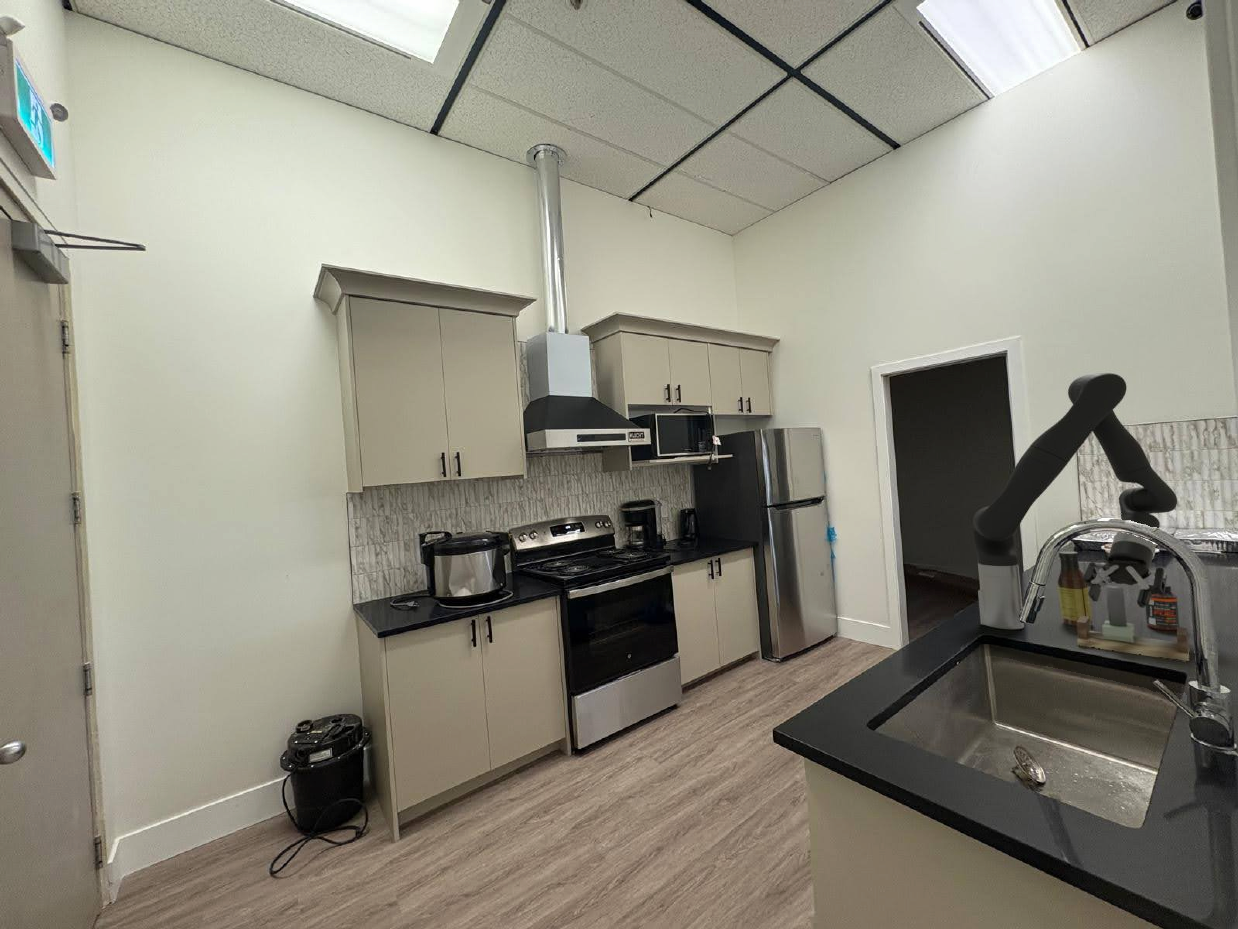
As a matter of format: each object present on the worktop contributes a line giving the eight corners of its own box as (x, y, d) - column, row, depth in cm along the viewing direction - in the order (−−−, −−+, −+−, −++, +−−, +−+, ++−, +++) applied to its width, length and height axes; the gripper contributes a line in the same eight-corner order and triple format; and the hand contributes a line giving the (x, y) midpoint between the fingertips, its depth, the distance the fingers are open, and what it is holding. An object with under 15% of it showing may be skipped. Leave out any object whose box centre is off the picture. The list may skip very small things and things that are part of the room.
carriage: (1103, 639, 122) (1098, 588, 122) (1106, 634, 125) (1101, 584, 126) (1133, 643, 118) (1127, 590, 118) (1135, 637, 122) (1130, 586, 122)
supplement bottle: (1154, 630, 132) (1150, 586, 132) (1142, 624, 137) (1137, 582, 138) (1186, 631, 129) (1181, 587, 130) (1171, 625, 135) (1167, 582, 135)
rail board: (1078, 645, 124) (1075, 622, 124) (1084, 637, 130) (1082, 615, 130) (1188, 661, 110) (1185, 636, 111) (1189, 651, 116) (1187, 627, 116)
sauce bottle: (1080, 621, 143) (1073, 550, 144) (1099, 627, 137) (1091, 552, 138) (1055, 621, 144) (1048, 551, 145) (1073, 628, 137) (1065, 554, 138)
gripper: (1090, 538, 133) (1073, 588, 127) (1166, 541, 120) (1151, 597, 115) (1101, 556, 135) (1085, 606, 130) (1178, 561, 123) (1163, 617, 117)
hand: (1116, 602), depth 122 cm, fingers open, 8 cm apart
